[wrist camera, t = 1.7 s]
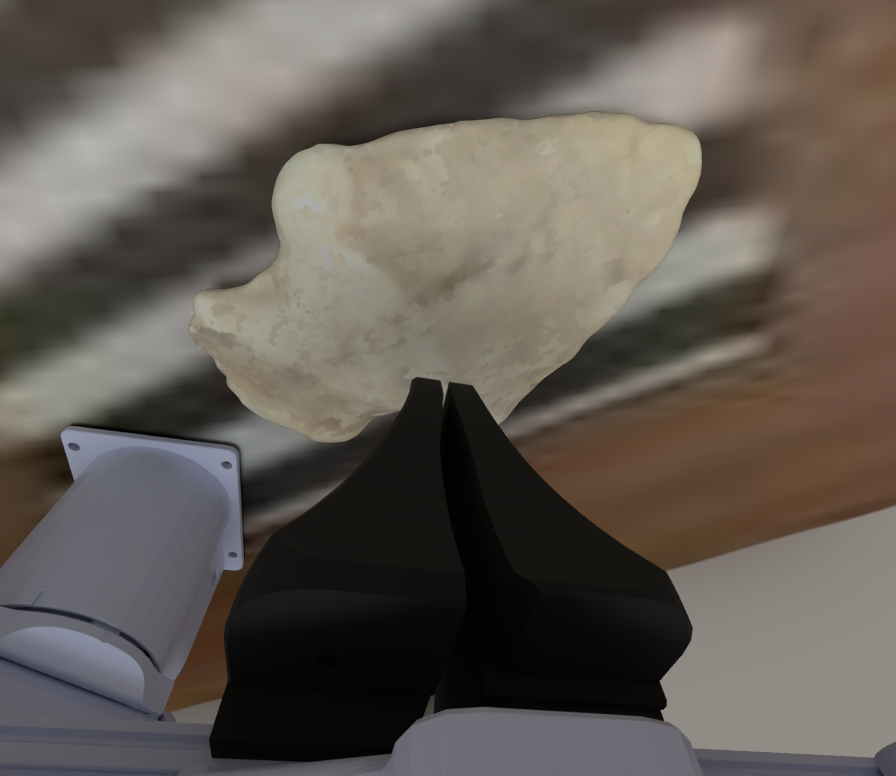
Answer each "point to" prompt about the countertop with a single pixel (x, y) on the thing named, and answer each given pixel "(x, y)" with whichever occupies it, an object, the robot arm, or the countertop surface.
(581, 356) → the countertop surface
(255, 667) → the robot arm
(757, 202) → the countertop surface
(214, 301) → the rock
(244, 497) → the countertop surface
